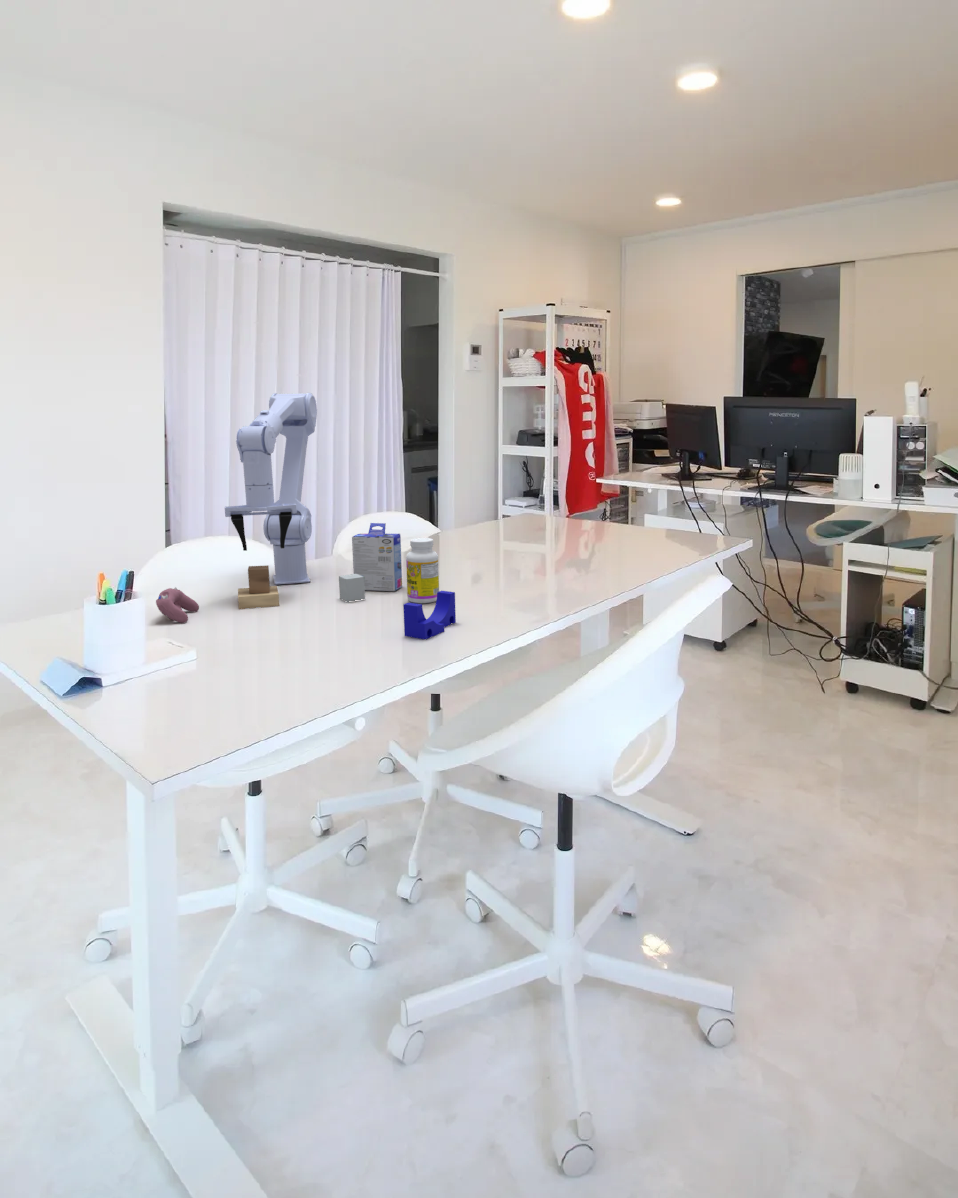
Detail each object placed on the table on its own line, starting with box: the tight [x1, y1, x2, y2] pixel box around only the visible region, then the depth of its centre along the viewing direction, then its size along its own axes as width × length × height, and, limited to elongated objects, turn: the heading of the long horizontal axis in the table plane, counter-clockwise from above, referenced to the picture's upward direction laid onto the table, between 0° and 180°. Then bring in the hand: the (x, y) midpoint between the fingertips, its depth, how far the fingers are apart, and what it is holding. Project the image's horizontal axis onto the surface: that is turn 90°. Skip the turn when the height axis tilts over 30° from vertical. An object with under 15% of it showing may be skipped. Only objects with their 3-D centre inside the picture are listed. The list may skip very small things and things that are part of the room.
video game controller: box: [155, 587, 200, 624], centre depth 158 cm, size 10×5×7 cm, turn 5°
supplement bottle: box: [405, 537, 440, 604], centre depth 168 cm, size 7×7×13 cm
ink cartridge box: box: [351, 522, 403, 592], centre depth 179 cm, size 10×6×14 cm, turn 79°
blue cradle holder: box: [402, 590, 457, 640], centre depth 147 cm, size 12×4×6 cm, turn 148°
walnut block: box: [247, 565, 271, 594], centre depth 168 cm, size 4×4×5 cm
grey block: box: [338, 573, 366, 603], centre depth 170 cm, size 4×4×5 cm
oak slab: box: [237, 585, 280, 610], centre depth 169 cm, size 8×8×3 cm
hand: (263, 548), depth 172 cm, fingers open, 7 cm apart
